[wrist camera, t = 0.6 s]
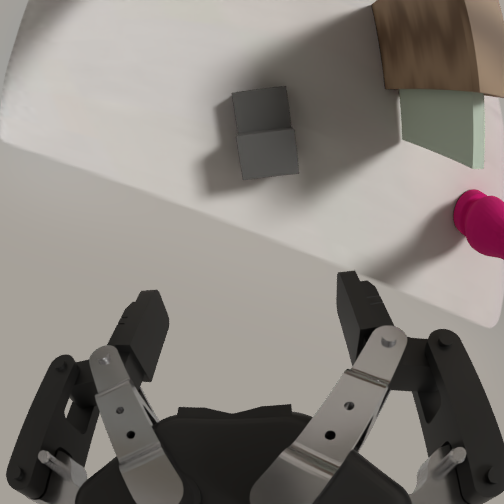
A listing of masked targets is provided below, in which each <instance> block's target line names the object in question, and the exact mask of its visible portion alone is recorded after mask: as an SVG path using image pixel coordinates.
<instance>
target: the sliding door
mask: <svg viewBox="0 0 504 504" xmlns="http://www.w3.org/2000/svg"><path fill="white" fill-rule="evenodd" d="M399 95H400V107H401V122H402V140H405V141H408V142H410V143H413V144H416V145H418V146H421V147H423V148H426V149H429V150H431V151H433V152H436V153H438V154H441V155H443V156H445V157H448V158H450V159H452V160H455V161H457V162H459V163H461V164H464V165H466V166H468V167H470V168H472V169H484V150H485V112H484V93H477V92H467V91H454V90H434V89H399Z"/></svg>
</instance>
